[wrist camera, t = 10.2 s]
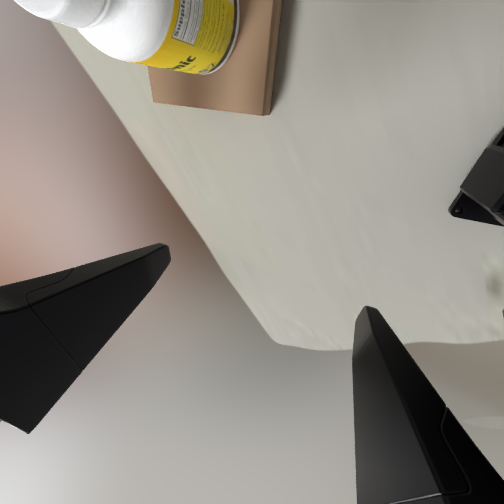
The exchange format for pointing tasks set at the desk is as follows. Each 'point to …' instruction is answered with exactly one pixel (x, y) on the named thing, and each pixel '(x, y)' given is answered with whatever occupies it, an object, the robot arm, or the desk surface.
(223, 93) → the base plate
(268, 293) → the desk surface
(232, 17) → the supplement bottle
